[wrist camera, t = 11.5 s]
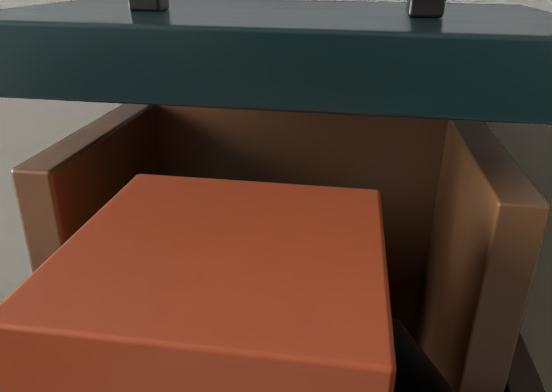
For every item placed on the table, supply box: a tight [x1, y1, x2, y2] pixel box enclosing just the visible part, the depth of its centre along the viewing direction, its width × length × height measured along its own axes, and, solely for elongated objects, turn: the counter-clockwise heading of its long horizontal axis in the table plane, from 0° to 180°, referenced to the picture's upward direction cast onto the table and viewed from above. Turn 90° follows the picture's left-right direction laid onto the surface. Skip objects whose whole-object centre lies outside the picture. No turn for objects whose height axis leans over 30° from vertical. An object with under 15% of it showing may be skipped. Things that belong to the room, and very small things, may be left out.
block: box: [0, 174, 397, 392], centre depth 7 cm, size 4×4×4 cm
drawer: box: [0, 0, 552, 392], centre depth 11 cm, size 14×10×6 cm
